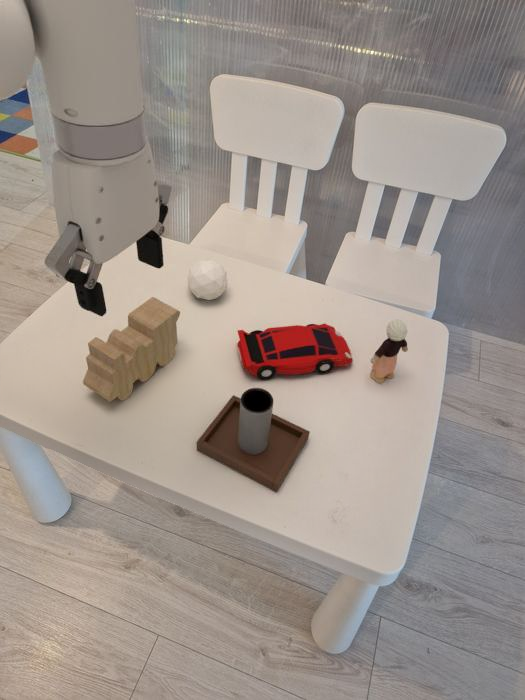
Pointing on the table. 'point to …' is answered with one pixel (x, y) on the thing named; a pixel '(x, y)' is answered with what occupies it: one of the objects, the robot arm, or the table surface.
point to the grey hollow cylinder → (255, 420)
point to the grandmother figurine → (389, 351)
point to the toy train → (132, 350)
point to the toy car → (292, 350)
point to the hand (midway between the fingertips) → (123, 285)
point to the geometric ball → (207, 279)
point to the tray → (260, 467)
